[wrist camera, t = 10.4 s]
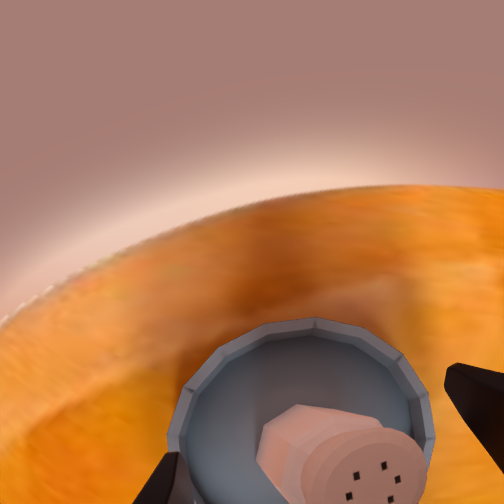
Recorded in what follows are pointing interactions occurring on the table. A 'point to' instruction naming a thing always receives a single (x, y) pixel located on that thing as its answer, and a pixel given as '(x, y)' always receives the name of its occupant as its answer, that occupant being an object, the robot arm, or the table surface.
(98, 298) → the table surface
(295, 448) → the pepper shaker
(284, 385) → the dish
